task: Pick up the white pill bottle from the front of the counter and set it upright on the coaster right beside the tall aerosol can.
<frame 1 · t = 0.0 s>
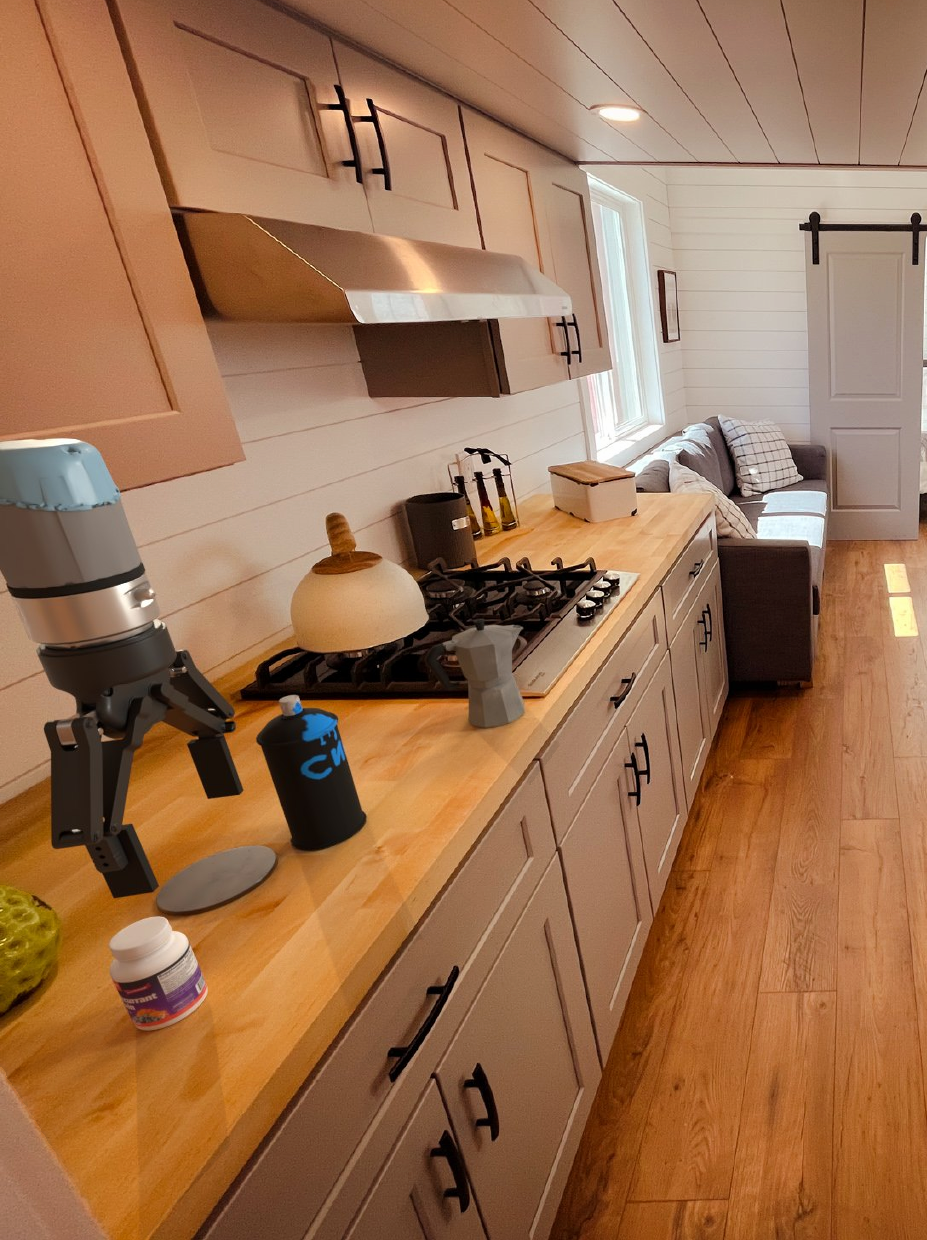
hand: (185, 839, 66), 19 cm above the table, tool pointing down, fingers open, 13 cm apart
pill bottle: (173, 1008, 70), on the table
coffeepot: (491, 717, 122), on the table
coaster: (220, 880, 86), on the table
aerosol can: (330, 831, 94), on the table
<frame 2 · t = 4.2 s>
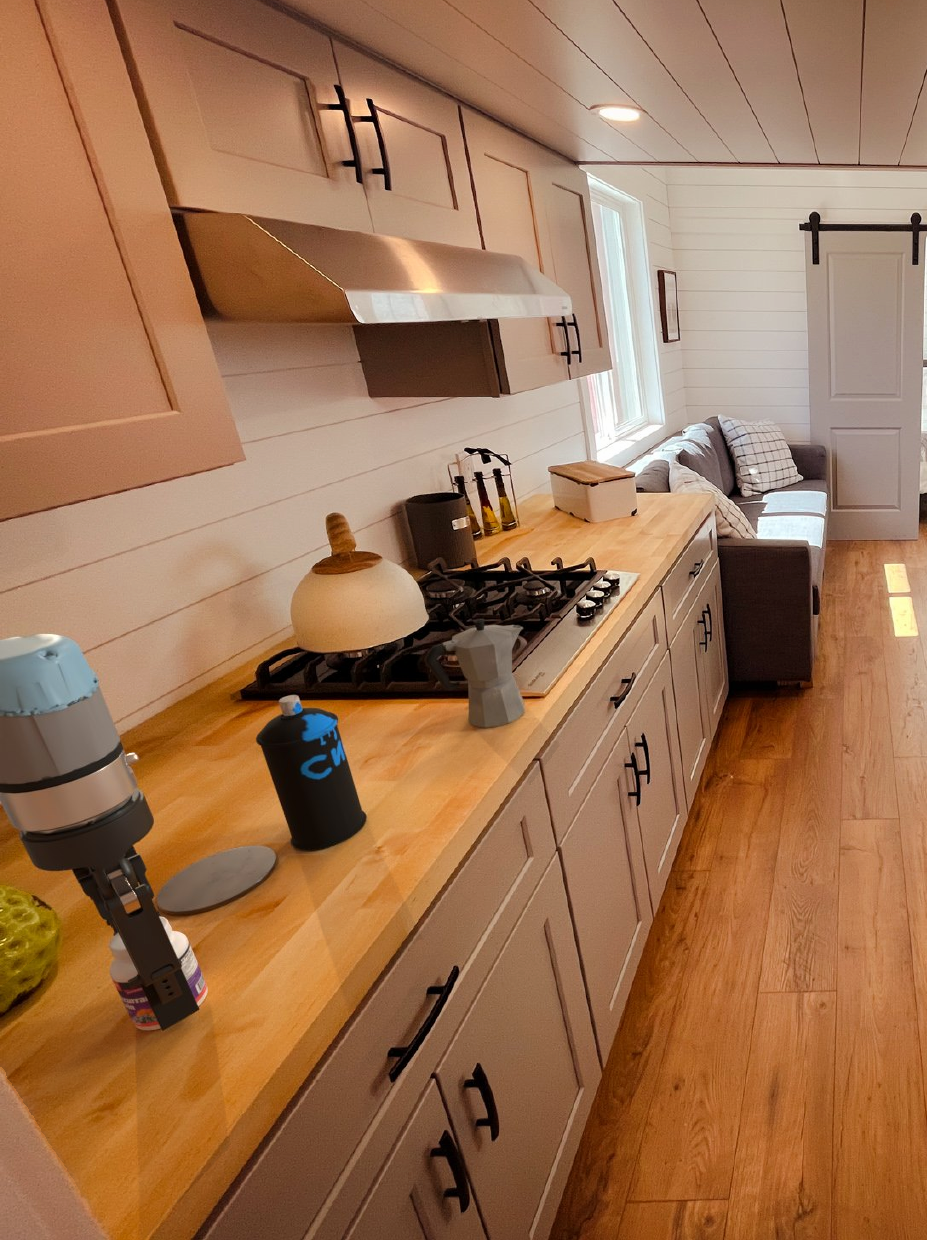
hand: (170, 1001, 70), 1 cm above the table, tool pointing down, fingers closed on pill bottle, 5 cm apart
pill bottle: (173, 1008, 70), on the table, touching gripper
everything else where it was.
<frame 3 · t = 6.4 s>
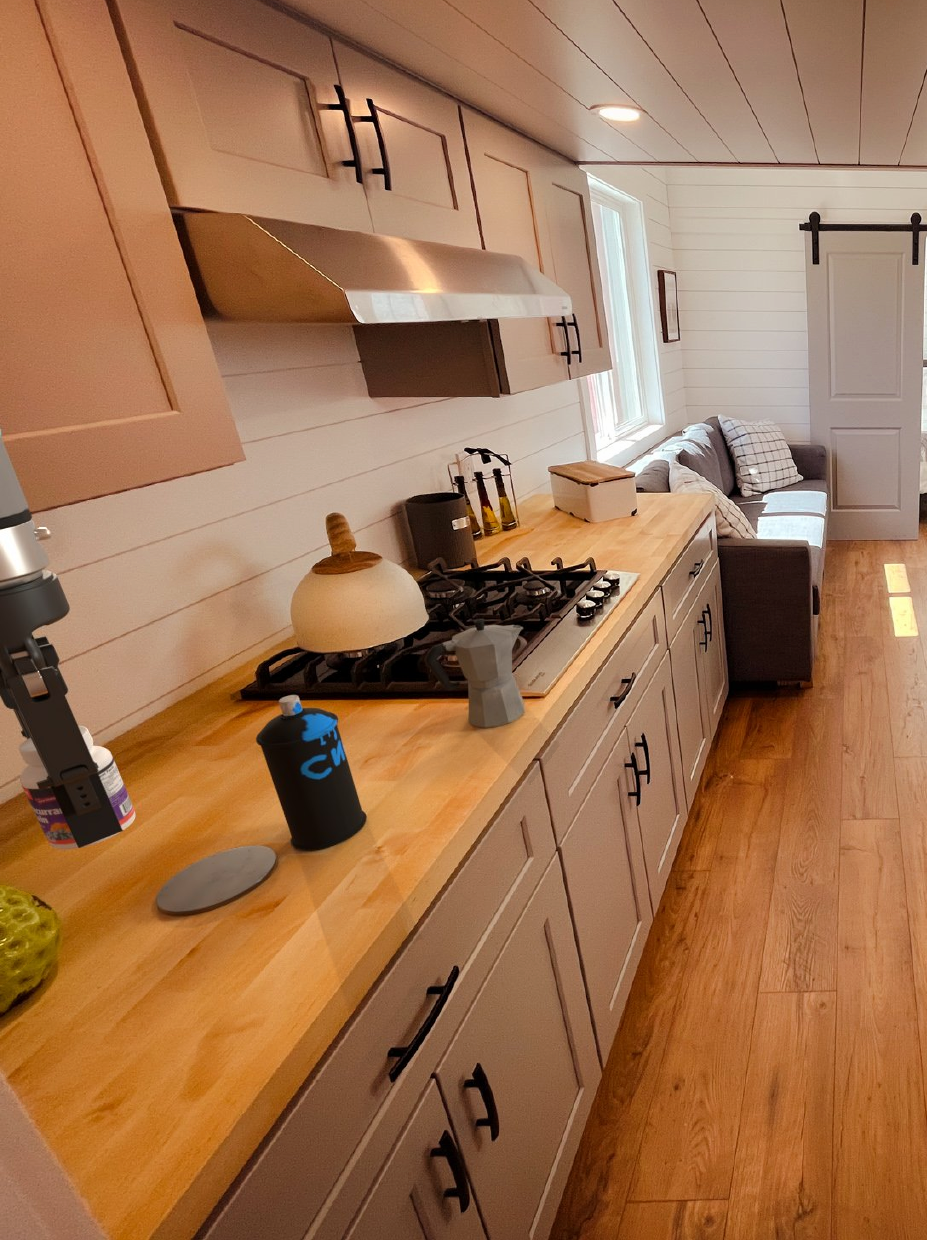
hand: (91, 823, 63), 22 cm above the table, tool pointing down, fingers closed on pill bottle, 5 cm apart
pill bottle: (96, 832, 63), point 21 cm above the table, touching gripper
everything else where it was.
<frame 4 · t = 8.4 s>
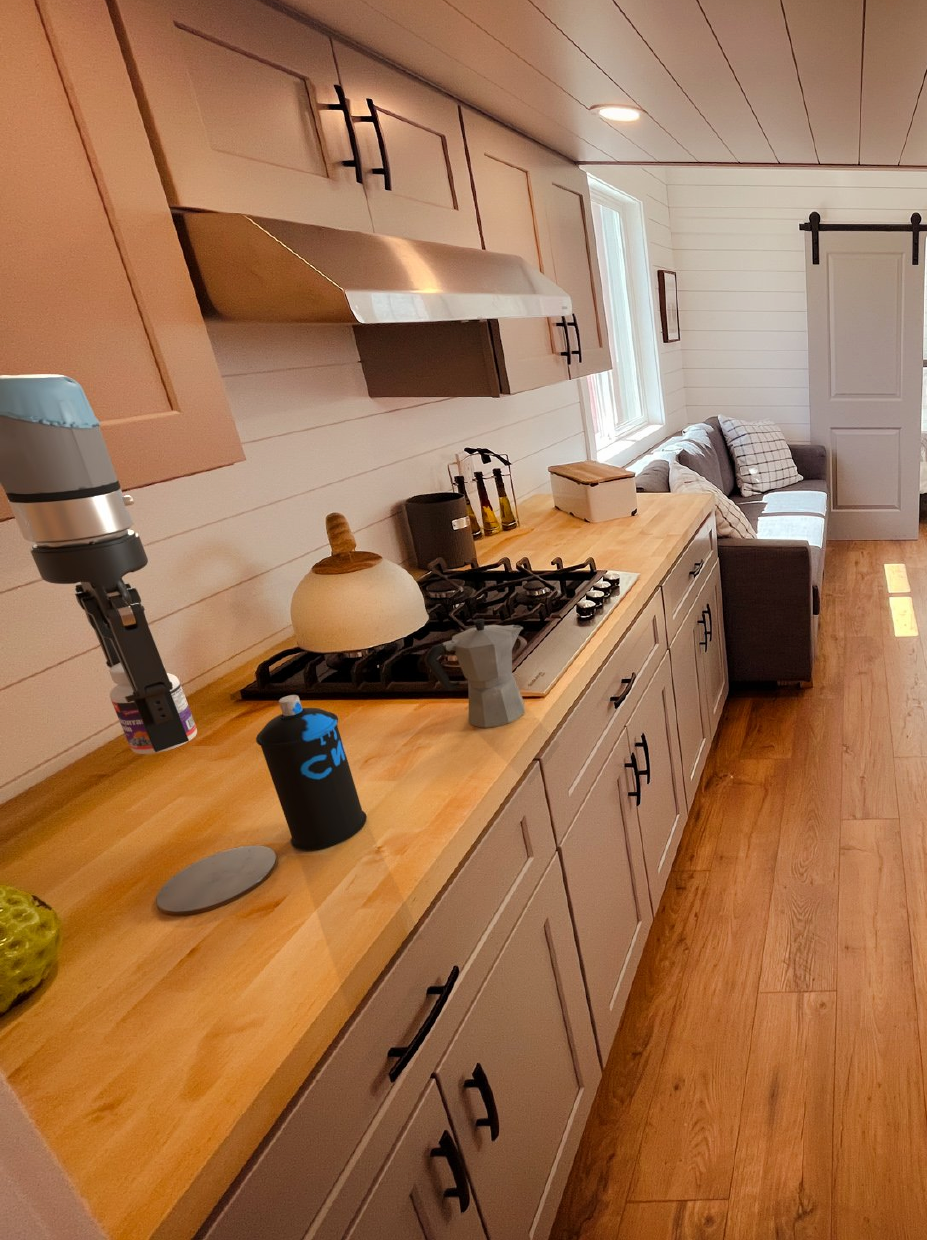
hand: (163, 736, 78), 20 cm above the table, tool pointing down, fingers closed on pill bottle, 5 cm apart
pill bottle: (166, 743, 79), point 19 cm above the table, touching gripper
everything else where it was.
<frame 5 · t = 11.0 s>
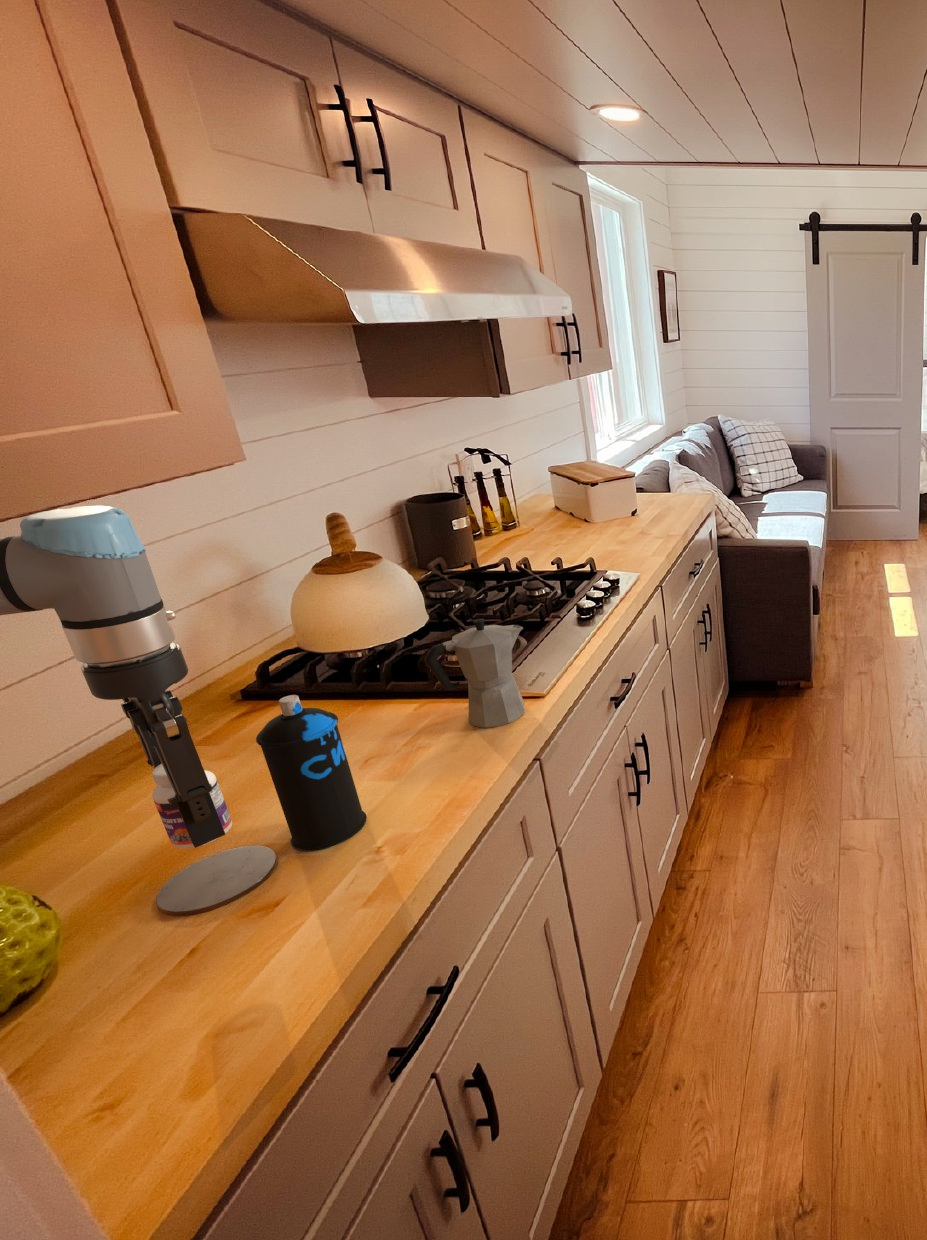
hand: (200, 829, 83), 8 cm above the table, tool pointing down, fingers closed on pill bottle, 5 cm apart
pill bottle: (204, 836, 83), point 7 cm above the table, touching gripper
everything else where it was.
when the fingers open (1 cm above the table, at t = 12.8 s): pill bottle stays where it is, resting on coaster.
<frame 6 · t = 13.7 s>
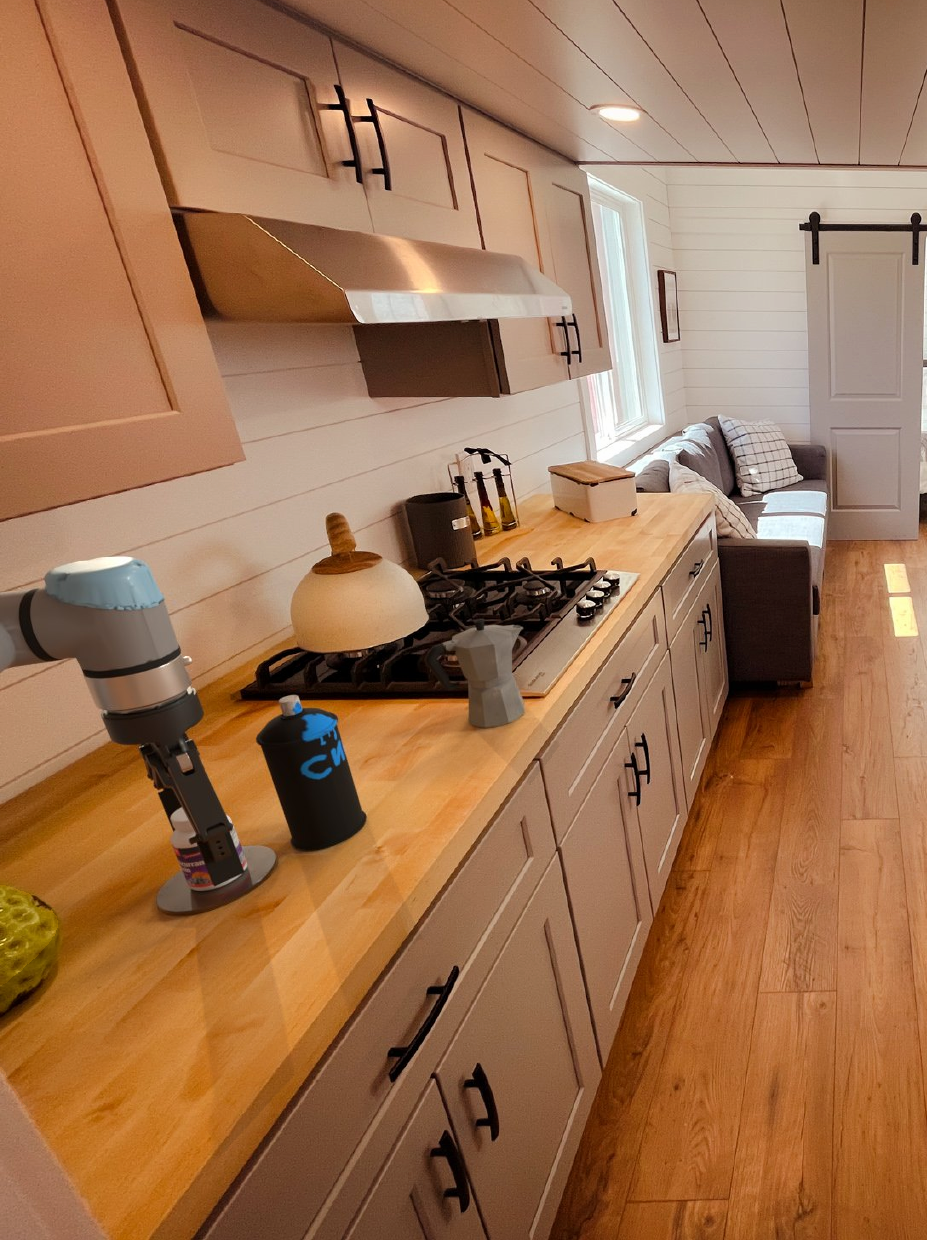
hand: (209, 854, 84), 4 cm above the table, tool pointing down, fingers open, 13 cm apart
pill bottle: (219, 877, 86), resting on coaster
everything else where it was.
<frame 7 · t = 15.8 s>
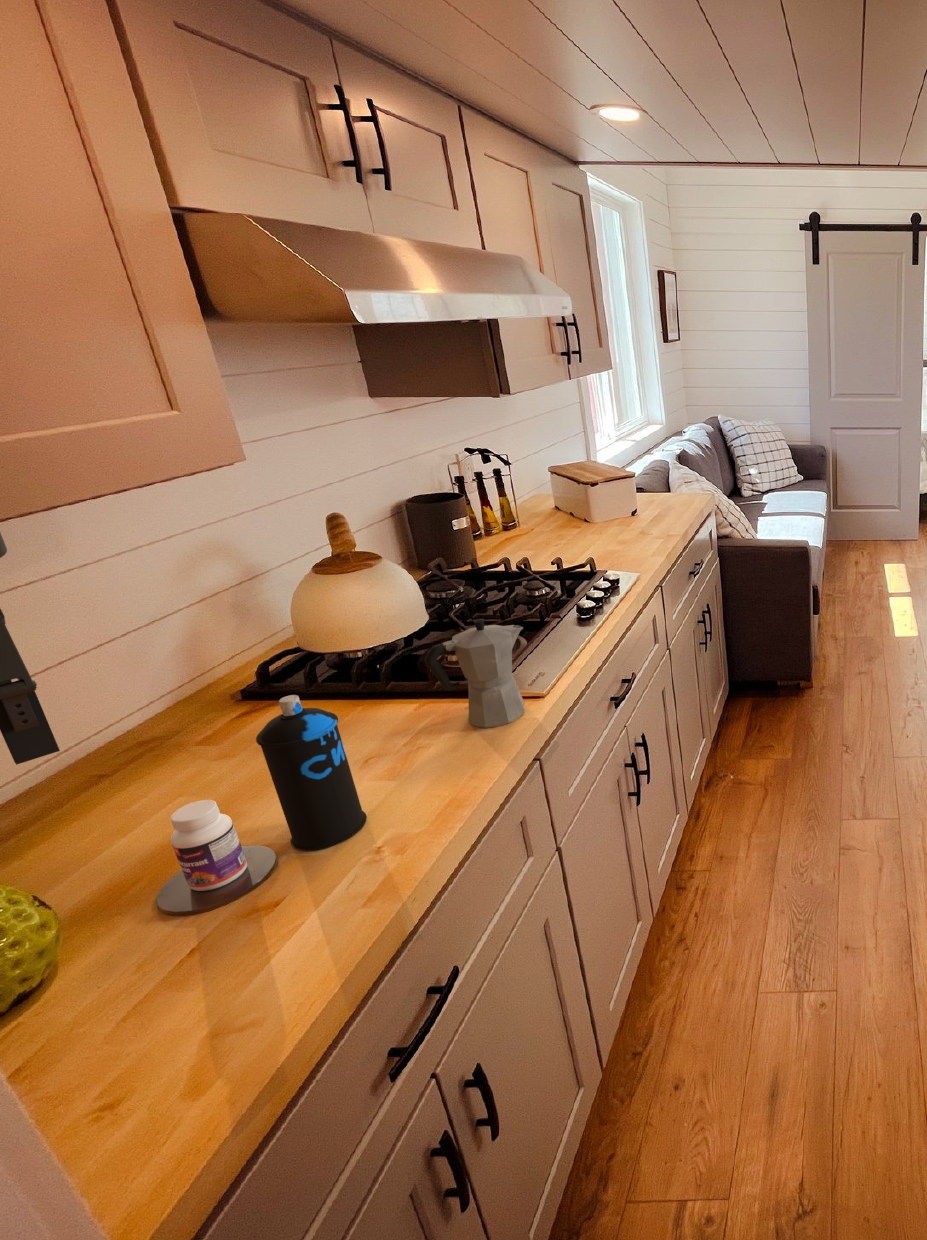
hand: (19, 733, 68), 26 cm above the table, tool pointing down, fingers open, 13 cm apart
nothing on the table moved.
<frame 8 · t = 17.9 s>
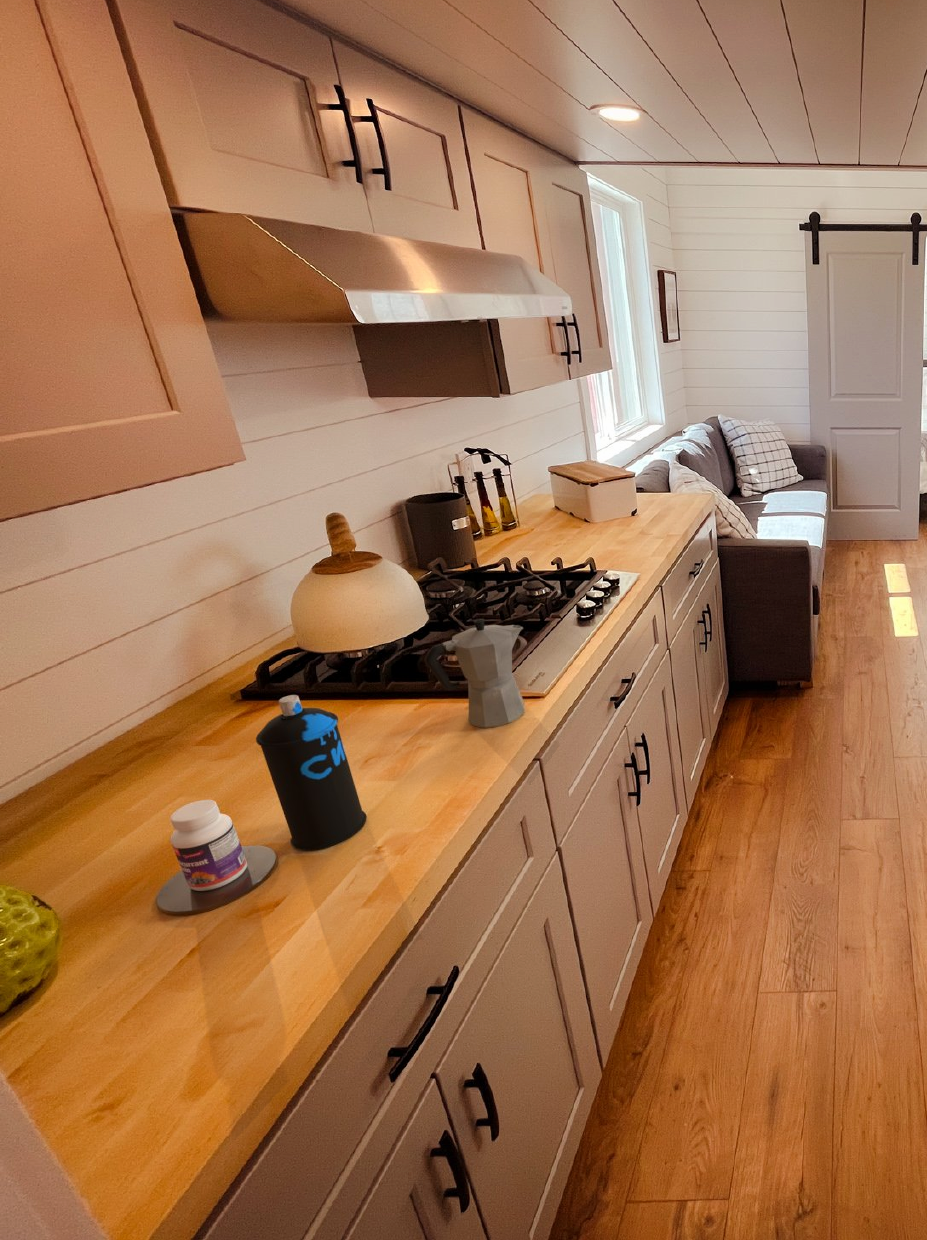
nothing on the table moved.
at the end: pill bottle 0.1 cm off-centre on the coaster, point 0.4 cm above the coaster's base; pill bottle tilted 0°; pill bottle 11.3 cm from the aerosol can (horizontally) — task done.
